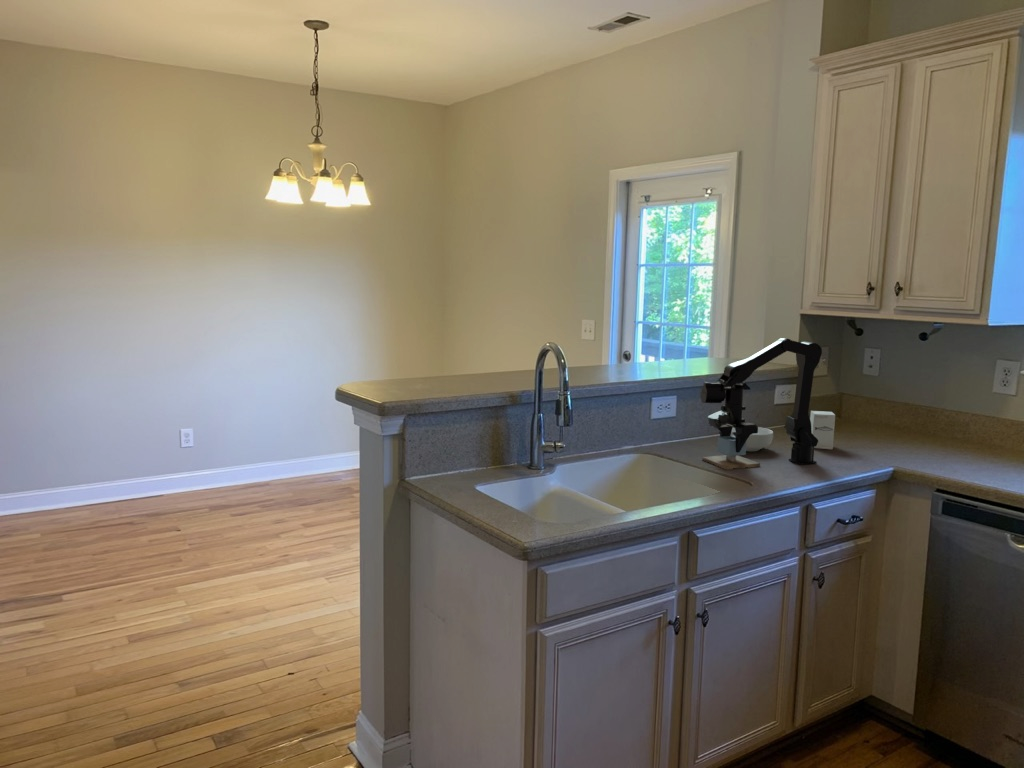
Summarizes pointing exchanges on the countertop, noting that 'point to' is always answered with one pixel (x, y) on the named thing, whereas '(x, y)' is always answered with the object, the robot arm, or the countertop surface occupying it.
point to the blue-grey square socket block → (729, 446)
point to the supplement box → (823, 428)
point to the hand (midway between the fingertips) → (731, 450)
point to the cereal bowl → (758, 439)
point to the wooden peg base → (731, 461)
